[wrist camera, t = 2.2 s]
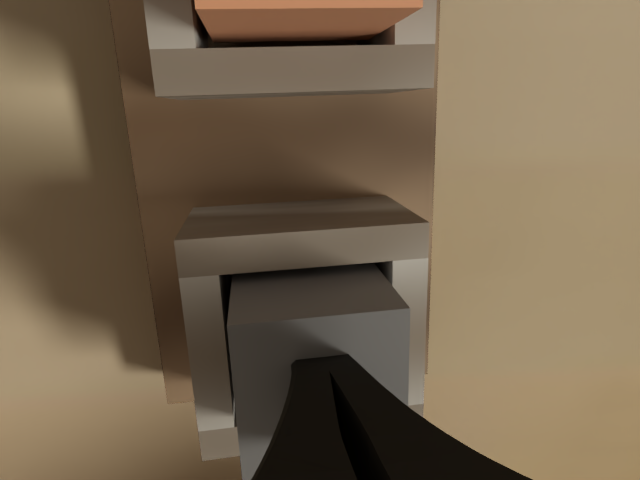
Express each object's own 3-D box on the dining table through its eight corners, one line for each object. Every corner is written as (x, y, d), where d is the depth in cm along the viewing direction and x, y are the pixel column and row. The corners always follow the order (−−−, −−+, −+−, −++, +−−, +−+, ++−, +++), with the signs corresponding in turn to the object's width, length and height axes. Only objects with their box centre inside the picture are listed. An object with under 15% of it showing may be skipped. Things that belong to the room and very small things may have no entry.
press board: (410, 349, 20) (473, 444, 14) (176, 374, 19) (143, 489, 13) (421, -139, 15) (525, -287, 9) (103, -150, 14) (0, -331, 8)
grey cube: (367, 370, 15) (407, 457, 11) (244, 384, 15) (242, 480, 11) (366, 254, 14) (410, 308, 10) (233, 264, 13) (226, 325, 10)
